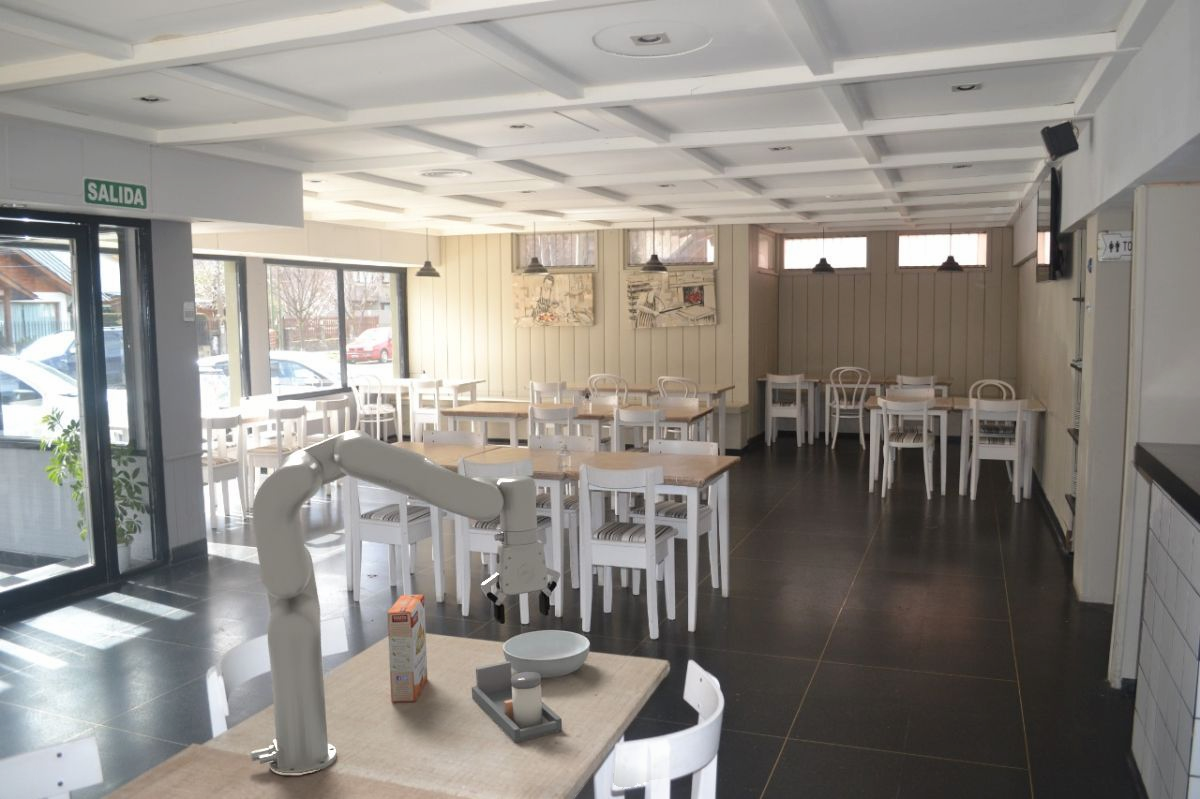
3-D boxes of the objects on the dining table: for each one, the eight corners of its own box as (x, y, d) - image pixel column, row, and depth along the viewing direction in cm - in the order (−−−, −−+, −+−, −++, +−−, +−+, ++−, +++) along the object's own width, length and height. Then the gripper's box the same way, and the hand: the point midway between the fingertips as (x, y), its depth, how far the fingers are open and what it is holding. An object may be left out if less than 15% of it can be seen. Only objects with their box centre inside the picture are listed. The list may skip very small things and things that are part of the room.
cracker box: (417, 702, 210) (412, 611, 208) (390, 703, 210) (385, 612, 208) (429, 678, 224) (425, 593, 222) (404, 679, 224) (399, 594, 222)
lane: (514, 742, 188) (513, 709, 187) (472, 698, 211) (470, 669, 211) (562, 730, 193) (560, 698, 192) (515, 688, 216) (513, 659, 215)
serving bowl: (582, 689, 214) (581, 660, 213) (494, 687, 217) (492, 658, 217) (597, 656, 235) (596, 629, 234) (516, 655, 238) (514, 628, 237)
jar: (519, 732, 191) (517, 685, 190) (508, 721, 196) (506, 675, 196) (547, 725, 194) (545, 679, 193) (535, 714, 199) (533, 669, 198)
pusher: (506, 719, 196) (506, 703, 196) (498, 711, 201) (497, 694, 200) (538, 712, 199) (537, 695, 199) (529, 703, 204) (528, 687, 204)
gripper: (485, 546, 185) (489, 630, 186) (565, 534, 193) (568, 615, 194) (472, 538, 191) (476, 620, 193) (550, 527, 199) (553, 606, 201)
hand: (522, 618), depth 193 cm, fingers open, 9 cm apart
